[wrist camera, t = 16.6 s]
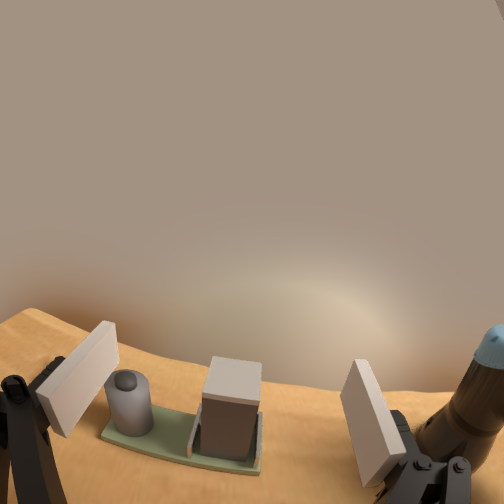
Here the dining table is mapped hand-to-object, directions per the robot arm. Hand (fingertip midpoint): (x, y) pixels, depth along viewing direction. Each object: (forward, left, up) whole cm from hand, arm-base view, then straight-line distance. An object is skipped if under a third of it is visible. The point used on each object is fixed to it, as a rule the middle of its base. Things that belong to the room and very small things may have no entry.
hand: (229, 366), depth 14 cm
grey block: (0, -13, -25) cm, 28 cm away
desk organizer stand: (+6, -13, -26) cm, 30 cm away
